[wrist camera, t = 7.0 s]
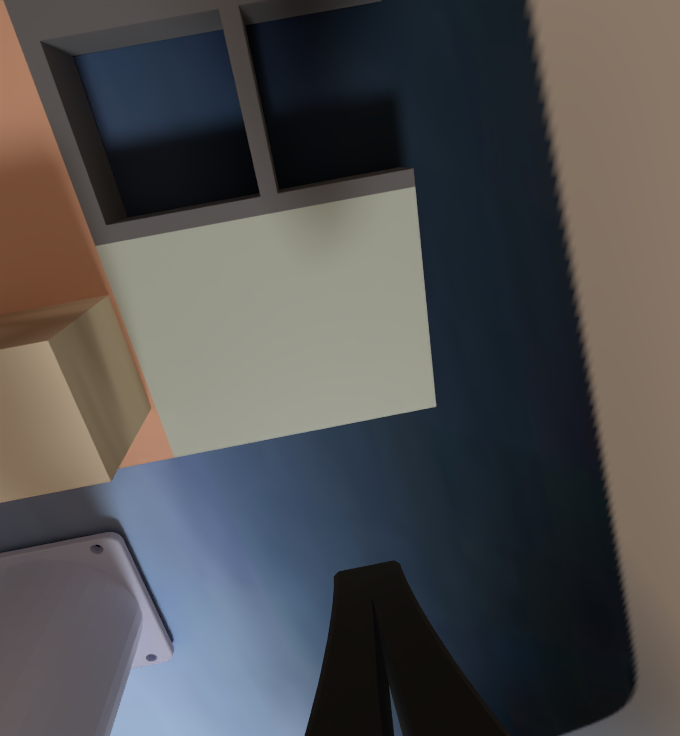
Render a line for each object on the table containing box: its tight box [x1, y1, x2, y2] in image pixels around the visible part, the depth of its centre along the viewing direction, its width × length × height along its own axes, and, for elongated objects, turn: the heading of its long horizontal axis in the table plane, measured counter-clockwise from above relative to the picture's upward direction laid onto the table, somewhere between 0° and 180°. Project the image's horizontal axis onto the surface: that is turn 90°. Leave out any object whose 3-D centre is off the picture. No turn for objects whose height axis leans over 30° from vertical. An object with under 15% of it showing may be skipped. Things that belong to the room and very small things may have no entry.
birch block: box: [0, 295, 151, 503], centre depth 13 cm, size 4×4×4 cm
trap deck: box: [0, 0, 436, 468], centre depth 15 cm, size 14×14×2 cm
